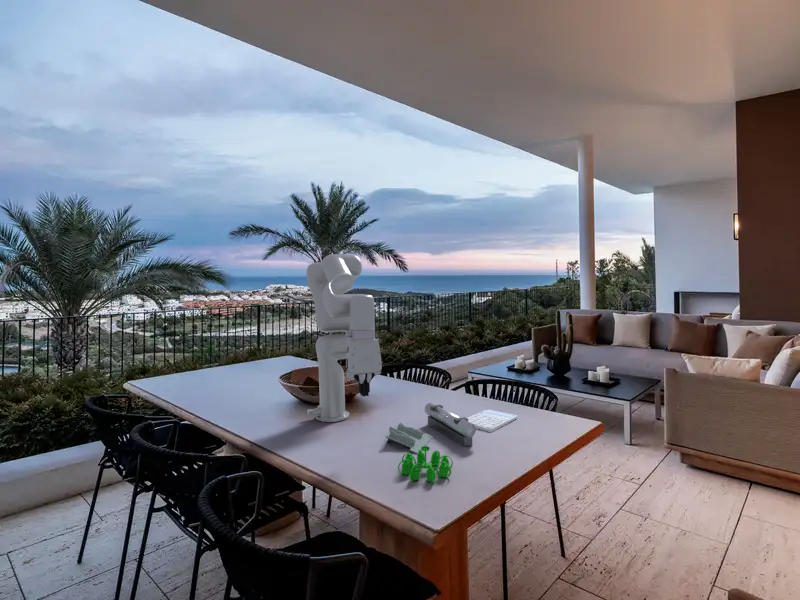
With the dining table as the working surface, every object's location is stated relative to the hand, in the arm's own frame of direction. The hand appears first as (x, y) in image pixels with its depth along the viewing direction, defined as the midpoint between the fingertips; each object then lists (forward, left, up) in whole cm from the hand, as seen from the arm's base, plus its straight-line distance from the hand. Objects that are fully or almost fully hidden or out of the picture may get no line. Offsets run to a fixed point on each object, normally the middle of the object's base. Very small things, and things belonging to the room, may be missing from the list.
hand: (364, 395), depth 131 cm
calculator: (+49, +5, -18) cm, 53 cm away
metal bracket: (+14, -1, -18) cm, 22 cm away
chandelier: (+9, -22, -17) cm, 30 cm away
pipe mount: (+29, 0, -17) cm, 34 cm away
